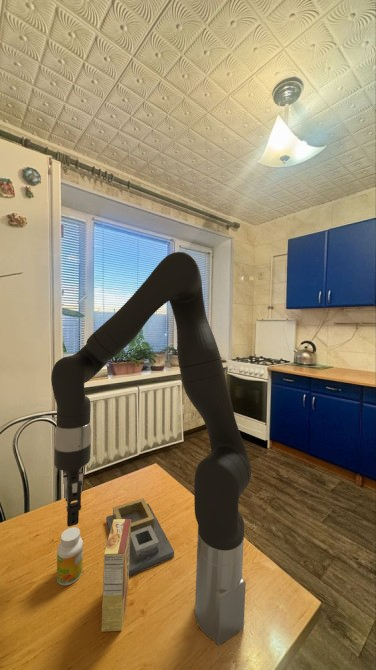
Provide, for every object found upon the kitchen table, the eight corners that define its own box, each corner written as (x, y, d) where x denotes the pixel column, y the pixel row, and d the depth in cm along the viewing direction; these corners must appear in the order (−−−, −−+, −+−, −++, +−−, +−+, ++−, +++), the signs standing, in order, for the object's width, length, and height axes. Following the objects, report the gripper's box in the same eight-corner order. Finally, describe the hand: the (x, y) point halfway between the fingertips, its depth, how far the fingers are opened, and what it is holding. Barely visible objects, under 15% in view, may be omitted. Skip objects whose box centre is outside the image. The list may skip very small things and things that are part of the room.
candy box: (110, 585, 57) (112, 518, 56) (129, 584, 57) (131, 517, 56) (100, 633, 48) (102, 554, 47) (123, 631, 48) (125, 553, 48)
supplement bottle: (51, 582, 57) (51, 539, 57) (68, 561, 62) (69, 522, 62) (70, 590, 55) (71, 546, 55) (87, 567, 61) (88, 528, 60)
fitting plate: (174, 557, 64) (174, 541, 64) (122, 579, 58) (122, 562, 58) (148, 508, 81) (148, 495, 81) (106, 521, 75) (106, 508, 75)
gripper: (95, 453, 53) (93, 528, 54) (87, 427, 66) (85, 488, 67) (54, 461, 50) (53, 541, 51) (54, 432, 62) (53, 496, 63)
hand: (71, 511), depth 59 cm, fingers open, 8 cm apart
